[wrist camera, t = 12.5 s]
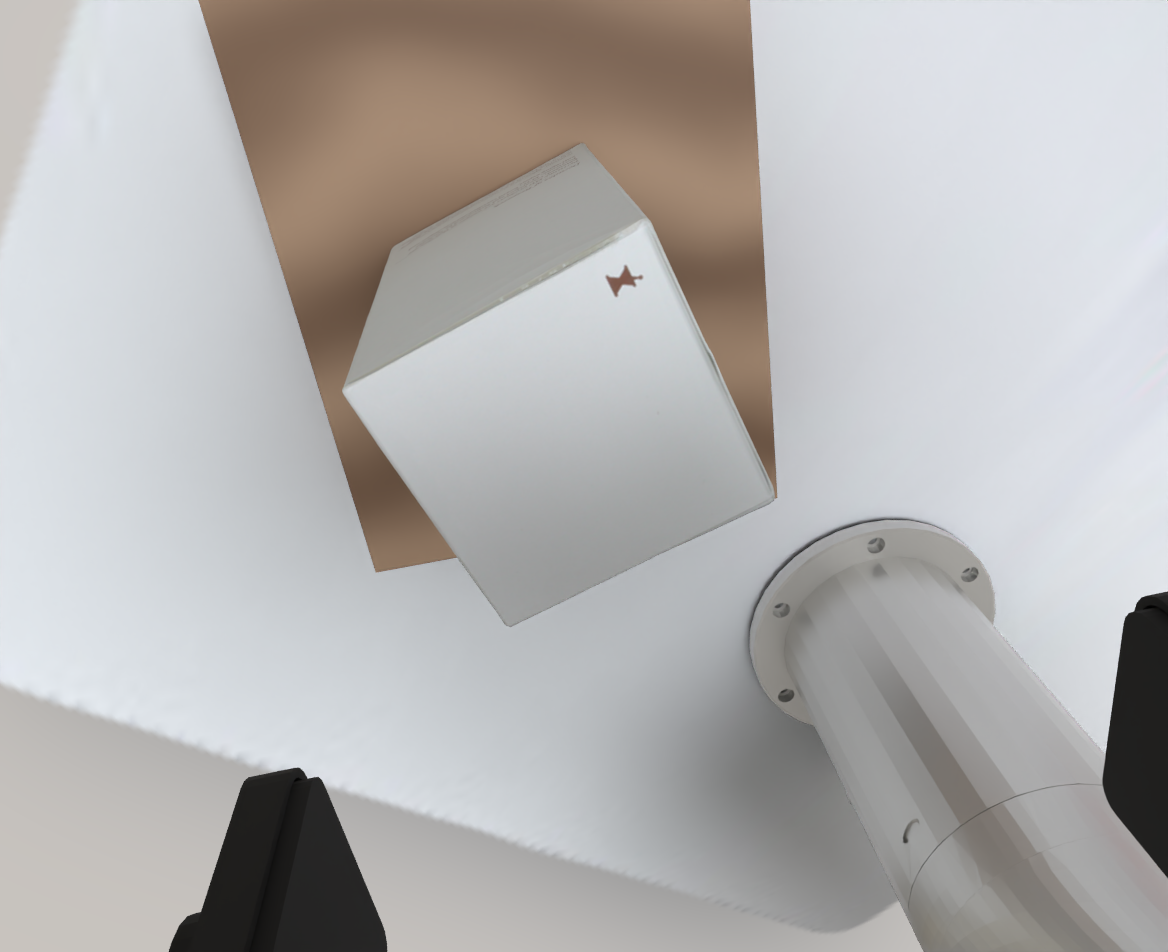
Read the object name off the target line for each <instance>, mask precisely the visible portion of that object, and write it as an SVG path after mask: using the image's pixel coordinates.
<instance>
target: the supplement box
mask: <svg viewBox="0 0 1168 952" xmlns="http://www.w3.org/2000/svg"><path fill="white" fill-rule="evenodd" d="M342 392H343V394H344V396H345V397H346V399H347V400H348V402H349V403H350V405H351V406H352V408H353V409H354V411H355V412H356V414H357V415H358V417H359V418H360V420H361V421H362V423H363V424H364V426H365V427H366V428H367V430H368V431H369V433H370V434H371V436H372V437H373V438H374V440H375V441H376V443H377V445H378V446H379V447H380V449H381V450H382V452H383V453H384V454H385V456H386V457H387V459H388V460H389V462H390V463H391V464H392V466H393V467H394V469H395V470H396V471H397V473H398V474H399V476H400V477H401V478H402V480H403V481H404V483H405V484H406V486H407V487H408V488H409V490H410V491H411V493H412V494H413V495H414V497H415V498H416V500H417V501H418V503H419V504H420V505H421V507H422V508H423V510H424V511H425V512H426V514H427V515H428V517H429V518H430V520H431V521H432V522H433V524H434V525H435V527H436V528H437V530H438V531H439V532H440V534H441V535H442V537H443V538H444V539H445V541H446V542H447V544H448V545H449V547H450V548H451V549H452V551H453V552H454V554H455V555H456V556H457V558H458V559H459V561H460V562H461V563H462V565H463V566H464V568H465V569H466V570H467V572H468V573H469V574H470V576H471V577H472V579H473V580H474V581H475V583H476V584H477V586H478V587H479V588H480V590H481V591H482V593H483V594H484V595H485V597H486V598H487V600H488V601H489V602H490V604H491V605H492V606H493V608H494V609H495V610H496V612H497V613H498V615H499V616H500V618H501V619H502V621H503V622H504V624H505V625H506V626H509V627H512V626H513V625H515V624H517V623H519V622H521V621H523V620H526V619H528V618H530V617H532V616H534V615H536V614H538V613H540V612H542V611H544V610H546V609H548V608H551V607H553V606H555V605H557V604H559V603H561V602H563V601H565V600H567V599H569V598H571V597H573V596H575V595H577V594H579V593H581V592H583V591H585V590H587V589H589V588H591V587H593V586H596V585H598V584H600V583H602V582H604V581H606V580H608V579H610V578H612V577H614V576H616V575H618V574H620V573H622V572H624V571H626V570H628V569H630V568H633V567H635V566H637V565H639V564H641V563H643V562H645V561H647V560H649V559H651V558H653V557H654V556H657V555H659V554H661V553H663V552H665V551H668V550H670V549H672V548H674V547H676V546H679V545H681V544H683V543H685V542H687V541H690V540H692V539H694V538H696V537H698V536H701V535H703V534H705V533H707V532H709V531H712V530H714V529H716V528H718V527H720V526H722V525H725V524H727V523H729V522H731V521H733V520H735V519H737V518H739V517H742V516H744V515H746V514H748V513H750V512H752V511H755V510H757V509H759V508H762V507H764V506H766V505H768V504H770V503H771V502H772V501H774V499H775V492H774V488H773V485H772V483H771V481H770V479H769V477H768V475H767V472H766V470H765V468H764V466H763V464H762V462H761V460H760V457H759V455H758V453H757V451H756V449H755V447H754V445H753V442H752V440H751V438H750V436H749V434H748V432H747V429H746V427H745V425H744V423H743V421H742V419H741V417H740V414H739V412H738V410H737V408H736V406H735V403H734V401H733V399H732V397H731V395H730V393H729V390H728V388H727V386H726V384H725V382H724V379H723V377H722V375H721V372H720V370H719V368H718V365H717V363H716V361H715V358H714V356H713V354H712V352H711V350H710V349H709V347H708V345H707V343H706V341H705V339H704V337H703V335H702V333H701V331H700V328H699V326H698V324H697V322H696V320H695V318H694V315H693V313H692V311H691V309H690V307H689V305H688V302H687V300H686V298H685V296H684V294H683V292H682V289H681V287H680V285H679V283H678V281H677V278H676V276H675V274H674V272H673V270H672V267H671V265H670V263H669V261H668V259H667V257H666V254H665V252H664V250H663V248H662V245H661V243H660V241H659V239H658V236H657V234H656V232H655V230H654V227H653V225H652V223H651V221H650V220H649V219H648V218H647V217H646V215H645V214H644V213H643V212H642V211H641V209H640V208H639V207H638V206H637V205H636V204H635V202H634V201H633V200H632V199H631V198H630V197H629V195H628V194H627V193H626V192H625V191H624V190H623V188H622V187H621V186H620V185H619V184H618V183H617V182H616V180H615V179H614V178H613V177H612V176H611V175H610V173H609V172H608V171H607V170H606V169H605V168H604V166H603V165H602V164H601V163H600V162H599V161H598V160H597V158H596V157H595V156H594V155H593V153H592V152H591V151H590V150H589V149H588V148H587V146H586V145H585V144H584V143H580V144H579V145H577V146H575V147H573V148H571V149H570V150H568V151H566V152H564V153H562V154H561V155H559V156H557V157H555V158H553V159H551V160H549V161H547V162H546V163H544V164H542V165H541V166H539V167H537V168H535V169H533V170H532V171H530V172H528V173H526V174H524V175H522V176H521V177H519V178H517V179H515V180H513V181H511V182H509V183H507V184H506V185H504V186H502V187H500V188H499V189H497V190H495V191H493V192H491V193H489V194H488V195H486V196H484V197H482V198H480V199H478V200H477V201H475V202H473V203H471V204H469V205H467V206H465V207H464V208H462V209H460V210H458V211H456V212H454V213H453V214H451V215H449V216H447V217H445V218H443V219H442V220H440V221H438V222H436V223H434V224H432V225H431V226H429V227H427V228H425V229H423V230H421V231H420V232H418V233H416V234H414V235H412V236H411V237H409V238H407V239H405V240H404V241H402V242H400V243H399V244H397V245H395V246H394V247H393V248H392V249H391V252H390V255H389V258H388V261H387V264H386V266H385V269H384V272H383V275H382V277H381V281H380V284H379V287H378V289H377V292H376V295H375V298H374V301H373V304H372V307H371V310H370V312H369V315H368V317H367V320H366V324H365V327H364V329H363V332H362V335H361V338H360V340H359V344H358V347H357V350H356V353H355V355H354V358H353V361H352V364H351V367H350V370H349V373H348V376H347V378H346V381H345V384H344V387H343V389H342Z"/></svg>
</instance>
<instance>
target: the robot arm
mask: <svg viewBox="0 0 1168 952" xmlns="http://www.w3.org/2000/svg"><path fill="white" fill-rule="evenodd" d="M994 617H995V593H994V590H993V586H992V583H991V579H990V576H989V574H988V573H987V571H986V569H985V568H984V566H983V564H982V563H981V561H980V560H979V559H978V558H977V557H976V556H975V555H974V553H973V552H972V551H971V550H970V549H969V548H968V547H967V546H966V545H965V544H964V543H962V542H961V541H960V540H958V539H957V538H956V537H954V536H953V535H952V534H950V533H948V532H946V531H944V530H942V529H939V528H937V527H935V526H933V525H929V524H924V523H920V522H915V521H910V520H882V521H875V522H869V523H862V524H859V525H856V526H853V527H849V528H846V529H843V530H840V531H837V532H835V533H833V534H831V535H829V536H827V537H825V538H823V539H821V540H819V541H817V542H815V543H814V544H812V545H811V546H810V547H808V548H807V549H805V550H804V551H802V552H801V553H800V554H798V555H797V556H795V557H794V558H793V559H792V560H791V561H790V562H789V563H788V564H787V565H786V566H785V567H784V568H783V569H782V570H781V571H780V572H779V573H778V574H777V575H776V577H775V578H774V579H773V581H772V582H771V583H770V585H769V586H768V588H767V589H766V590H765V592H764V594H763V596H762V598H761V600H760V602H759V604H758V606H757V608H756V610H755V613H754V617H753V621H752V625H751V628H750V645H749V650H750V655H751V660H752V664H753V668H754V670H755V672H756V675H757V677H758V680H759V682H760V685H761V686H762V688H763V689H764V691H765V692H766V694H767V695H768V697H769V698H770V700H771V701H772V702H773V703H774V704H775V705H777V706H778V707H779V708H780V709H781V710H782V711H783V712H785V713H786V714H788V715H790V716H791V717H793V718H795V719H796V720H798V721H800V722H803V723H806V724H809V725H812V726H815V728H816V730H817V732H818V734H819V736H820V738H821V740H822V743H823V745H824V747H825V749H826V751H827V753H828V755H829V757H830V759H831V761H832V763H833V765H834V767H835V769H836V771H837V774H838V776H839V778H840V780H841V782H842V784H843V786H844V788H845V790H846V792H847V798H848V800H849V802H850V804H852V805H853V807H854V809H855V811H856V813H857V815H858V817H859V819H860V821H861V823H862V825H863V827H864V829H865V831H866V833H867V836H868V838H869V840H870V842H871V844H872V846H873V848H874V850H875V852H876V854H877V856H878V858H879V860H880V862H881V864H882V867H883V869H884V871H885V873H886V875H887V877H888V879H889V881H890V883H891V885H892V887H893V889H894V891H895V893H896V895H897V898H898V900H899V902H900V904H901V906H902V908H903V910H904V912H905V914H906V916H907V918H908V920H909V922H910V924H911V926H912V928H913V931H914V933H915V935H916V937H917V939H918V941H919V943H920V945H921V947H922V949H923V951H924V952H1168V592H1164V593H1159V594H1154V595H1149V596H1145V597H1142V598H1141V599H1140V600H1139V601H1138V602H1137V604H1136V607H1135V611H1134V612H1131V613H1129V614H1128V615H1127V616H1126V618H1125V621H1124V626H1123V633H1122V640H1121V648H1120V655H1119V662H1118V669H1117V676H1116V684H1115V691H1114V698H1113V705H1112V712H1111V720H1110V727H1109V734H1108V741H1107V749H1106V755H1105V754H1104V753H1103V751H1102V750H1101V749H1100V748H1099V747H1098V746H1097V745H1096V743H1095V742H1094V741H1093V740H1092V739H1091V738H1090V736H1089V735H1088V734H1087V733H1086V732H1085V731H1084V730H1083V728H1082V727H1081V726H1080V725H1079V724H1078V723H1077V721H1076V720H1075V719H1074V718H1073V717H1072V716H1071V715H1070V713H1069V712H1068V711H1067V710H1066V709H1065V708H1064V707H1063V705H1062V704H1061V703H1060V702H1059V701H1058V700H1057V698H1056V697H1055V696H1054V695H1053V694H1052V693H1051V692H1050V690H1049V689H1048V688H1047V687H1046V686H1045V685H1044V683H1043V682H1042V681H1041V680H1040V679H1039V678H1038V677H1037V675H1036V674H1035V673H1034V672H1033V671H1032V670H1031V669H1030V667H1029V666H1028V665H1027V664H1026V663H1025V662H1024V660H1023V659H1022V658H1021V657H1020V656H1019V655H1018V654H1017V652H1016V651H1015V650H1014V649H1013V648H1012V647H1011V645H1010V644H1009V643H1008V642H1007V641H1006V640H1005V639H1004V637H1003V636H1002V635H1001V634H1000V633H999V632H998V631H997V629H996V628H995V627H994V626H993V623H994ZM169 952H387V941H386V936H385V931H384V928H383V925H382V922H381V920H380V918H379V916H378V913H377V910H376V908H375V906H374V903H373V901H372V899H371V896H370V894H369V891H368V889H367V886H366V884H365V882H364V879H363V877H362V874H361V872H360V869H359V867H358V865H357V862H356V860H355V857H354V855H353V853H352V851H351V848H350V846H349V844H348V841H347V838H346V836H345V833H344V831H343V829H342V826H341V824H340V821H339V819H338V817H337V814H336V812H335V809H334V807H333V805H332V802H331V800H330V798H329V795H328V793H327V790H326V788H325V786H324V784H323V782H322V780H321V779H320V778H319V777H314V778H309V779H307V777H306V775H305V773H304V771H302V770H301V769H300V768H292V769H287V770H282V771H277V772H273V773H268V774H263V775H258V776H253V777H248V778H247V779H246V780H245V781H244V783H243V785H242V787H241V790H240V793H239V796H238V799H237V802H236V805H235V808H234V811H233V814H232V818H231V821H230V824H229V827H228V830H227V833H226V836H225V839H224V842H223V845H222V849H221V852H220V855H219V858H218V861H217V864H216V867H215V870H214V873H213V877H212V880H211V883H210V886H209V889H208V892H207V896H206V899H205V902H204V905H203V908H202V911H201V912H200V913H195V914H192V915H190V916H187V917H186V919H185V920H184V921H183V922H182V923H181V924H180V925H179V927H178V930H177V932H176V934H175V936H174V938H173V941H172V943H171V946H170V949H169Z"/></svg>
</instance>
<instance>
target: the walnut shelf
mask: <svg viewBox="0 0 1168 952" xmlns="http://www.w3.org/2000/svg"><path fill="white" fill-rule="evenodd" d="M199 4H200V7H201V10H202V13H203V16H204V20H205V23H206V26H207V29H208V33H209V36H210V39H211V42H212V45H213V49H214V52H215V55H216V58H217V62H218V65H219V68H220V71H221V74H222V78H223V81H224V84H225V87H226V91H227V94H228V97H229V100H230V104H231V107H232V110H233V113H234V116H235V120H236V123H237V126H238V129H239V133H240V136H241V139H242V142H243V145H244V149H245V152H246V155H247V158H248V162H249V165H250V168H251V171H252V174H253V178H254V181H255V184H256V187H257V191H258V194H259V197H260V200H261V204H262V207H263V210H264V213H265V216H266V220H267V223H268V226H269V229H270V233H271V236H272V239H273V242H274V245H275V249H276V252H277V255H278V258H279V262H280V265H281V268H282V271H283V274H284V278H285V281H286V284H287V287H288V291H289V294H290V297H291V300H292V304H293V307H294V310H295V313H296V316H297V320H298V323H299V326H300V329H301V333H302V336H303V339H304V342H305V345H306V349H307V352H308V355H309V358H310V362H311V365H312V368H313V371H314V374H315V378H316V381H317V384H318V387H319V391H320V394H321V397H322V400H323V404H324V407H325V410H326V413H327V416H328V420H329V423H330V426H331V429H332V433H333V436H334V439H335V442H336V445H337V449H338V452H339V455H340V458H341V462H342V465H343V468H344V471H345V474H346V478H347V481H348V484H349V487H350V491H351V494H352V497H353V500H354V504H355V507H356V510H357V513H358V516H359V520H360V523H361V526H362V529H363V533H364V536H365V539H366V542H367V545H368V549H369V552H370V555H371V558H372V562H373V565H374V568H375V571H376V572H381V571H386V570H392V569H397V568H403V567H408V566H413V565H419V564H424V563H430V562H435V561H440V560H446V559H451V558H456V557H457V556H456V555H455V554H454V552H453V551H452V549H451V548H450V547H449V545H448V544H447V542H446V541H445V539H444V538H443V537H442V535H441V534H440V532H439V531H438V530H437V528H436V527H435V525H434V524H433V522H432V521H431V520H430V518H429V517H428V515H427V514H426V512H425V511H424V510H423V508H422V507H421V505H420V504H419V503H418V501H417V500H416V498H415V497H414V495H413V494H412V493H411V491H410V490H409V488H408V487H407V486H406V484H405V483H404V481H403V480H402V478H401V477H400V476H399V474H398V473H397V471H396V470H395V469H394V467H393V466H392V464H391V463H390V462H389V460H388V459H387V457H386V456H385V454H384V453H383V452H382V450H381V449H380V447H379V446H378V445H377V443H376V441H375V440H374V438H373V437H372V436H371V434H370V433H369V431H368V430H367V428H366V427H365V426H364V424H363V423H362V421H361V420H360V418H359V417H358V415H357V414H356V412H355V411H354V409H353V408H352V406H351V405H350V403H349V402H348V400H347V399H346V397H345V396H344V394H343V392H342V389H343V387H344V384H345V381H346V378H347V376H348V373H349V370H350V367H351V364H352V361H353V358H354V355H355V353H356V350H357V347H358V344H359V340H360V338H361V335H362V332H363V329H364V327H365V324H366V320H367V317H368V315H369V312H370V310H371V307H372V304H373V301H374V298H375V295H376V292H377V289H378V287H379V284H380V281H381V277H382V275H383V272H384V269H385V266H386V264H387V261H388V258H389V255H390V252H391V249H392V248H393V247H394V246H395V245H397V244H399V243H400V242H402V241H404V240H405V239H407V238H409V237H411V236H412V235H414V234H416V233H418V232H420V231H421V230H423V229H425V228H427V227H429V226H431V225H432V224H434V223H436V222H438V221H440V220H442V219H443V218H445V217H447V216H449V215H451V214H453V213H454V212H456V211H458V210H460V209H462V208H464V207H465V206H467V205H469V204H471V203H473V202H475V201H477V200H478V199H480V198H482V197H484V196H486V195H488V194H489V193H491V192H493V191H495V190H497V189H499V188H500V187H502V186H504V185H506V184H507V183H509V182H511V181H513V180H515V179H517V178H519V177H521V176H522V175H524V174H526V173H528V172H530V171H532V170H533V169H535V168H537V167H539V166H541V165H542V164H544V163H546V162H547V161H549V160H551V159H553V158H555V157H557V156H559V155H561V154H562V153H564V152H566V151H568V150H570V149H571V148H573V147H575V146H577V145H579V144H580V143H584V144H585V145H586V146H587V148H588V149H589V150H590V151H591V152H592V153H593V155H594V156H595V157H596V158H597V160H598V161H599V162H600V163H601V164H602V165H603V166H604V168H605V169H606V170H607V171H608V172H609V173H610V175H611V176H612V177H613V178H614V179H615V180H616V182H617V183H618V184H619V185H620V186H621V187H622V188H623V190H624V191H625V192H626V193H627V194H628V195H629V197H630V198H631V199H632V200H633V201H634V202H635V204H636V205H637V206H638V207H639V208H640V209H641V211H642V212H643V213H644V214H645V215H646V217H647V218H648V219H649V220H650V221H651V223H652V225H653V227H654V230H655V232H656V234H657V236H658V239H659V241H660V243H661V245H662V248H663V250H664V252H665V254H666V257H667V259H668V261H669V263H670V265H671V267H672V270H673V272H674V274H675V276H676V278H677V281H678V283H679V285H680V287H681V289H682V292H683V294H684V296H685V298H686V300H687V302H688V305H689V307H690V309H691V311H692V313H693V315H694V318H695V320H696V322H697V324H698V326H699V328H700V331H701V333H702V335H703V337H704V339H705V341H706V343H707V345H708V347H709V349H710V350H711V352H712V354H713V356H714V358H715V361H716V363H717V365H718V368H719V370H720V372H721V375H722V377H723V379H724V382H725V384H726V386H727V388H728V390H729V393H730V395H731V397H732V399H733V401H734V403H735V406H736V408H737V410H738V412H739V414H740V417H741V419H742V421H743V423H744V425H745V427H746V429H747V432H748V434H749V436H750V438H751V440H752V442H753V445H754V447H755V449H756V451H757V453H758V455H759V457H760V460H761V462H762V464H763V466H764V468H765V470H766V472H767V475H768V477H769V479H770V481H771V483H772V485H773V488H774V492H775V498H777V484H776V466H775V448H774V430H773V412H772V394H771V376H770V358H769V340H768V322H767V303H766V285H765V267H764V249H763V231H762V213H761V195H760V177H759V159H758V140H757V122H756V104H755V86H754V68H753V50H752V32H751V14H750V0H199Z"/></svg>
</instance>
